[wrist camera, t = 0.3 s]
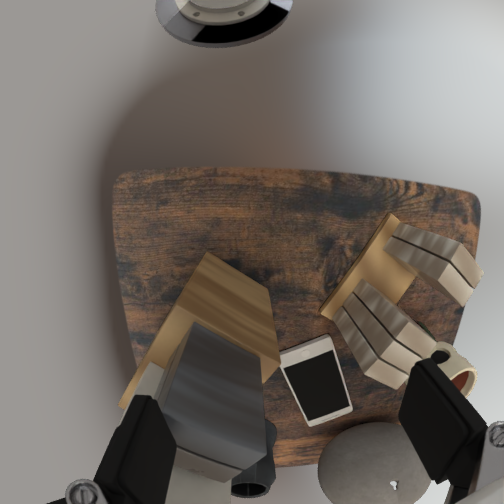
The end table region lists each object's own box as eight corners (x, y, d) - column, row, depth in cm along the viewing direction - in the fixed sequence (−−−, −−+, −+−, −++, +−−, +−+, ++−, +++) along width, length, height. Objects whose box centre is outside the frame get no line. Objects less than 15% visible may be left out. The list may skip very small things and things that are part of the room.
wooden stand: (207, 250, 30) (130, 388, 9) (268, 289, 31) (298, 459, 10) (158, 329, 33) (83, 475, 11) (213, 361, 34) (188, 519, 12)
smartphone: (329, 332, 33) (330, 336, 32) (351, 407, 36) (353, 411, 35) (274, 353, 33) (275, 357, 32) (308, 423, 37) (309, 427, 36)
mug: (275, 448, 38) (280, 501, 28) (221, 448, 38) (216, 501, 27) (279, 402, 36) (287, 463, 25) (214, 402, 35) (206, 464, 25)
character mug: (441, 316, 33) (495, 362, 20) (425, 358, 35) (468, 409, 22) (382, 315, 33) (434, 372, 20) (366, 360, 34) (404, 425, 22)
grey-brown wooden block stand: (387, 212, 29) (452, 230, 18) (427, 250, 31) (490, 280, 19) (318, 310, 32) (349, 371, 20) (363, 337, 33) (402, 396, 22)
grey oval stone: (306, 446, 39) (324, 536, 20) (311, 421, 37) (334, 522, 19) (402, 426, 39) (439, 498, 20) (413, 400, 37) (460, 477, 19)
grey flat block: (150, 360, 18) (91, 488, 7) (235, 404, 19) (229, 536, 8) (141, 375, 18) (86, 495, 7) (223, 417, 19) (212, 541, 8)
